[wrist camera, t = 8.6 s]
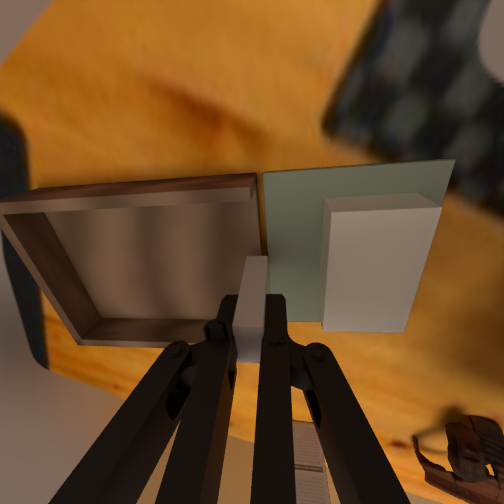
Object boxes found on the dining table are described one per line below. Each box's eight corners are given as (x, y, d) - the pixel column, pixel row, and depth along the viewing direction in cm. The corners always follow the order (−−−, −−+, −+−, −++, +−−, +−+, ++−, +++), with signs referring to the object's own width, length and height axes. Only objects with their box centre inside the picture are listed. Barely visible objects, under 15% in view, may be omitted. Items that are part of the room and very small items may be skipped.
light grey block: (416, 192, 16) (442, 207, 13) (388, 306, 21) (403, 333, 18) (324, 197, 17) (331, 212, 14) (317, 305, 22) (322, 331, 19)
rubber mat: (450, 158, 15) (455, 159, 15) (402, 319, 22) (405, 323, 21) (262, 172, 17) (262, 173, 16) (272, 317, 24) (272, 321, 23)
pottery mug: (509, 437, 30) (523, 527, 26) (418, 410, 36) (418, 479, 32) (515, 417, 23) (537, 535, 19) (402, 389, 29) (400, 472, 25)
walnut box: (256, 172, 17) (249, 186, 13) (267, 317, 24) (265, 351, 20) (38, 188, 19) (-15, 203, 16) (104, 315, 26) (78, 345, 23)
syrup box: (277, 417, 33) (275, 604, 20) (321, 423, 32) (346, 618, 20) (275, 437, 36) (272, 612, 23) (315, 443, 35) (334, 624, 22)
